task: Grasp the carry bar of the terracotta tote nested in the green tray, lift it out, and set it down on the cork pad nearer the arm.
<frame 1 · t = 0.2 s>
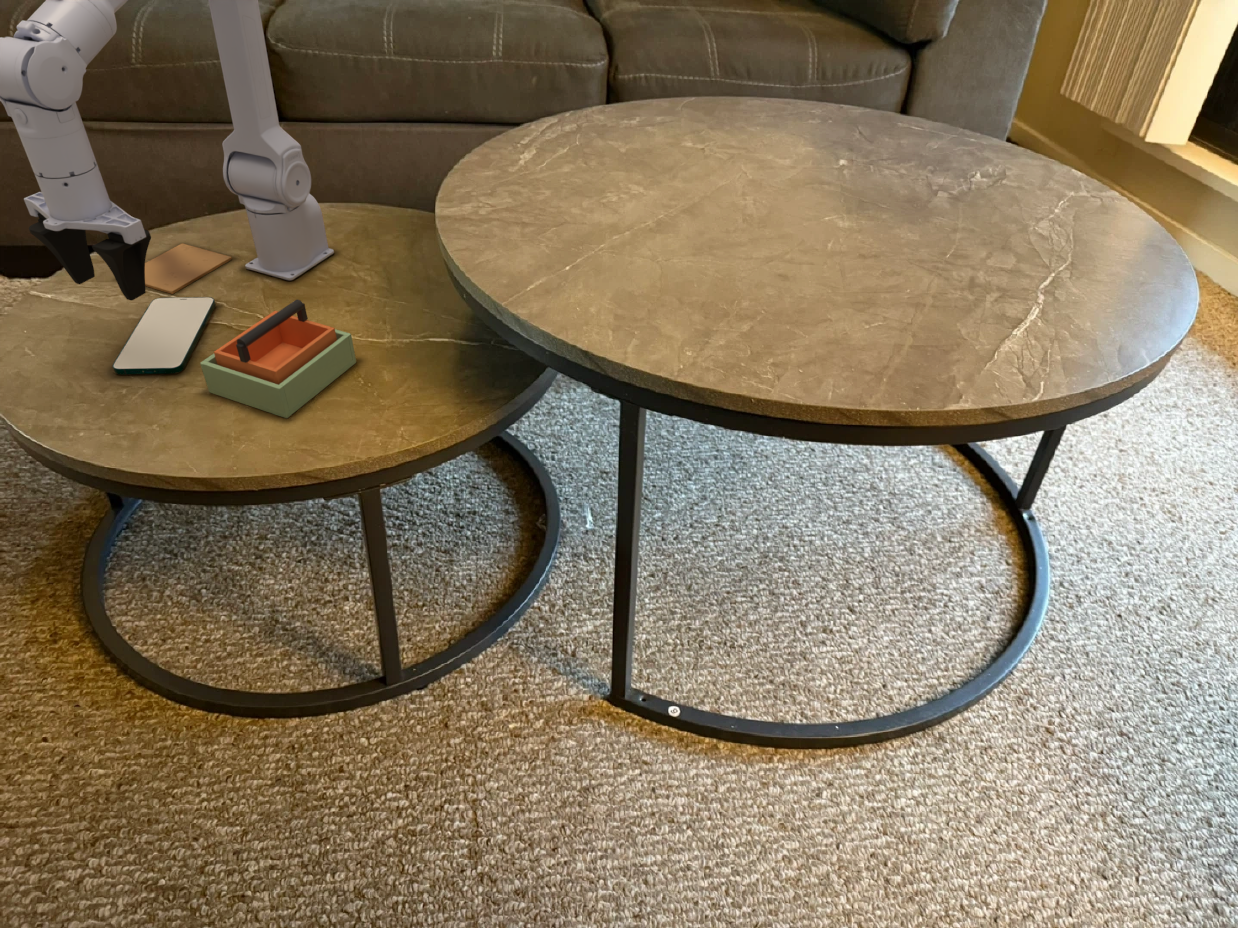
hand: (110, 287, 100), 10 cm above the table, tool pointing down, fingers open, 7 cm apart
green tray: (284, 377, 105), on the table
terracotta tote: (283, 372, 105), point 1 cm above the table, touching green tray
cork pad: (177, 268, 124), on the table
smartphone: (168, 338, 111), on the table
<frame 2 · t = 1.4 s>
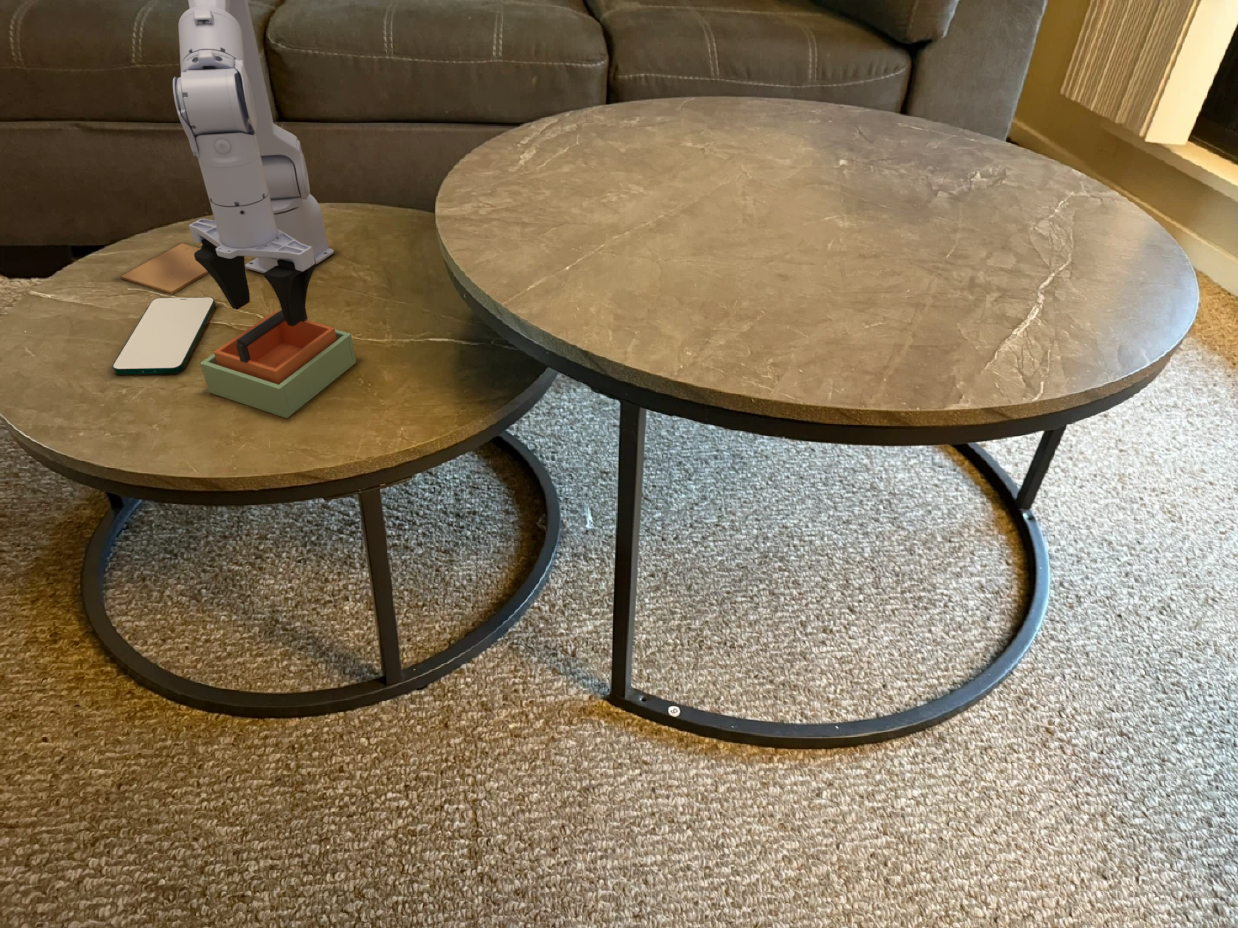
hand: (268, 313, 100), 8 cm above the table, tool pointing down, fingers open, 7 cm apart
nothing on the table moved.
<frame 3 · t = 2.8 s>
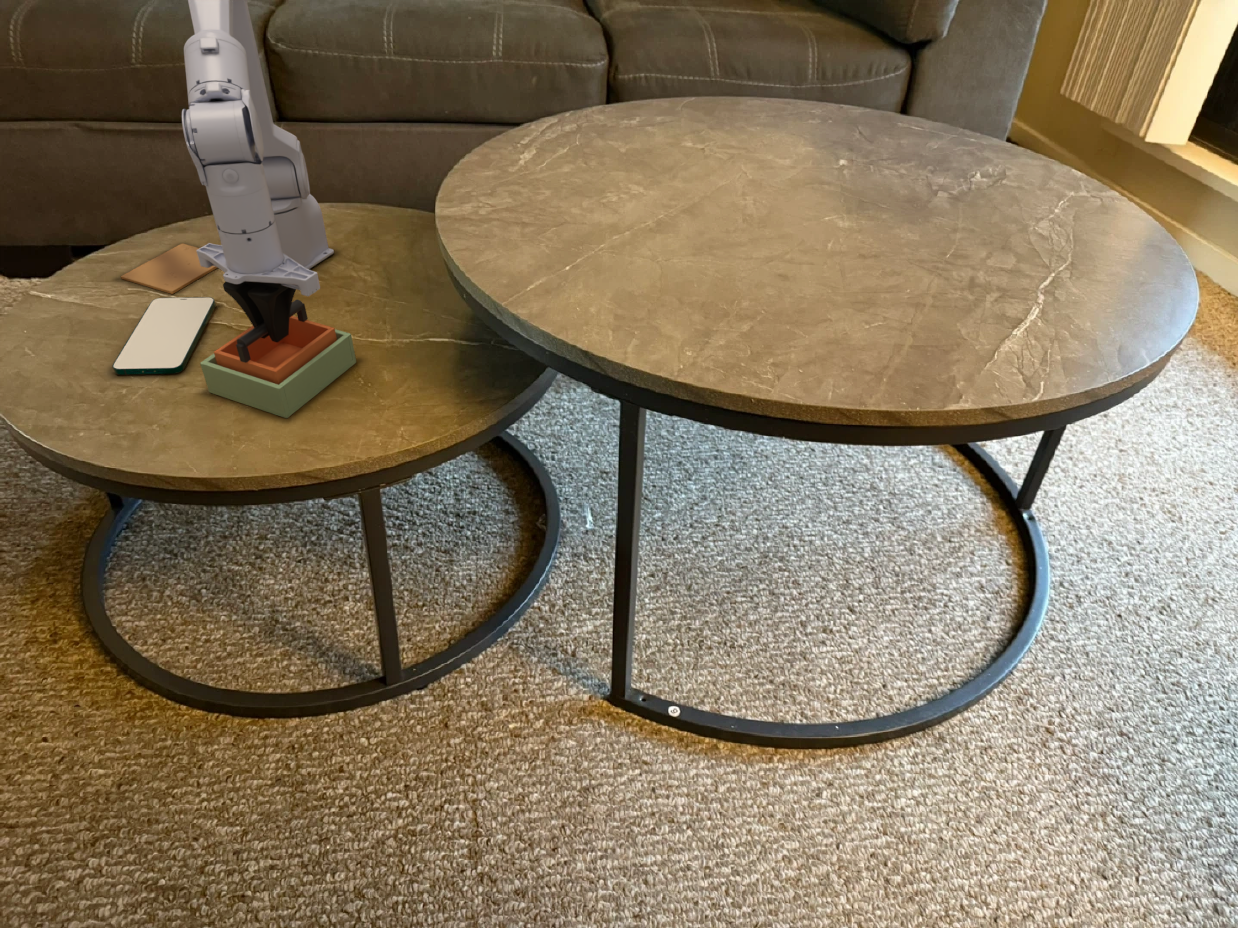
hand: (274, 335, 102), 6 cm above the table, tool pointing down, fingers closed on terracotta tote
terracotta tote: (283, 372, 105), point 1 cm above the table, touching green tray, gripper
everything else where it was.
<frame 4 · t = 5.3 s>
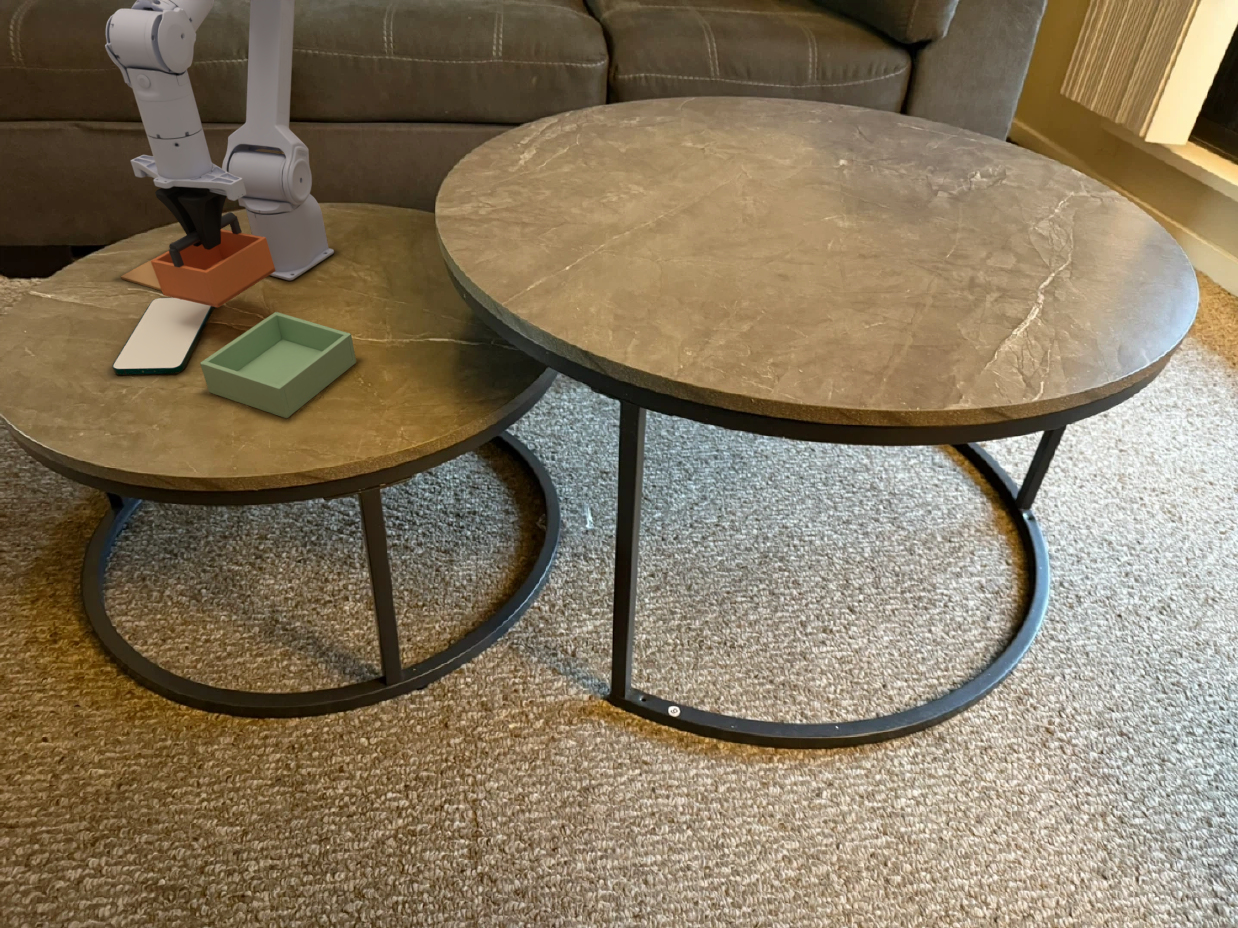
hand: (207, 244, 108), 10 cm above the table, tool pointing down, fingers closed on terracotta tote
terracotta tote: (220, 283, 111), point 5 cm above the table, touching gripper
everything else where it was.
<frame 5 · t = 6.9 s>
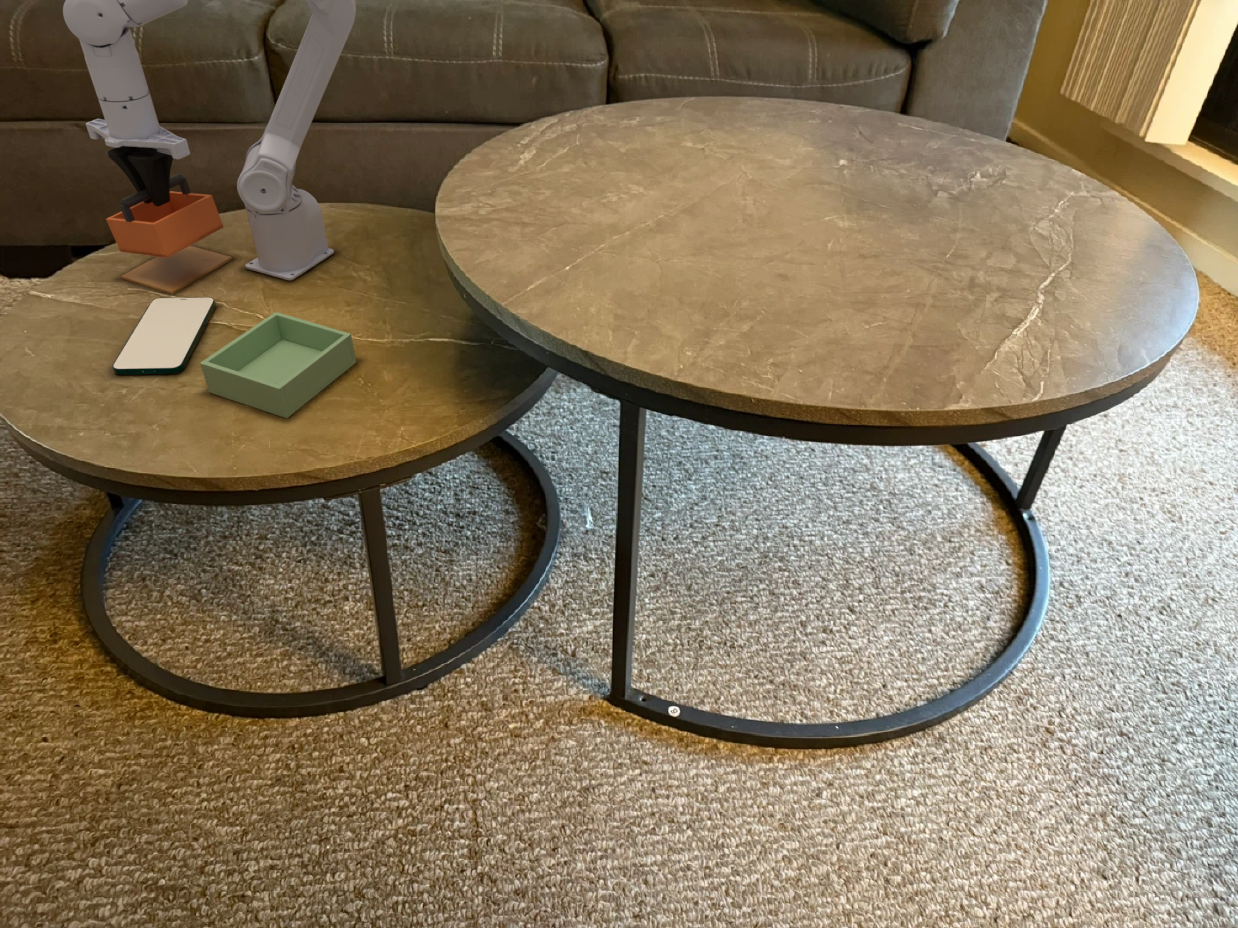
hand: (157, 201, 118), 10 cm above the table, tool pointing down, fingers closed on terracotta tote
terracotta tote: (172, 239, 121), point 5 cm above the table, tilted 7°, touching gripper
everything else where it was.
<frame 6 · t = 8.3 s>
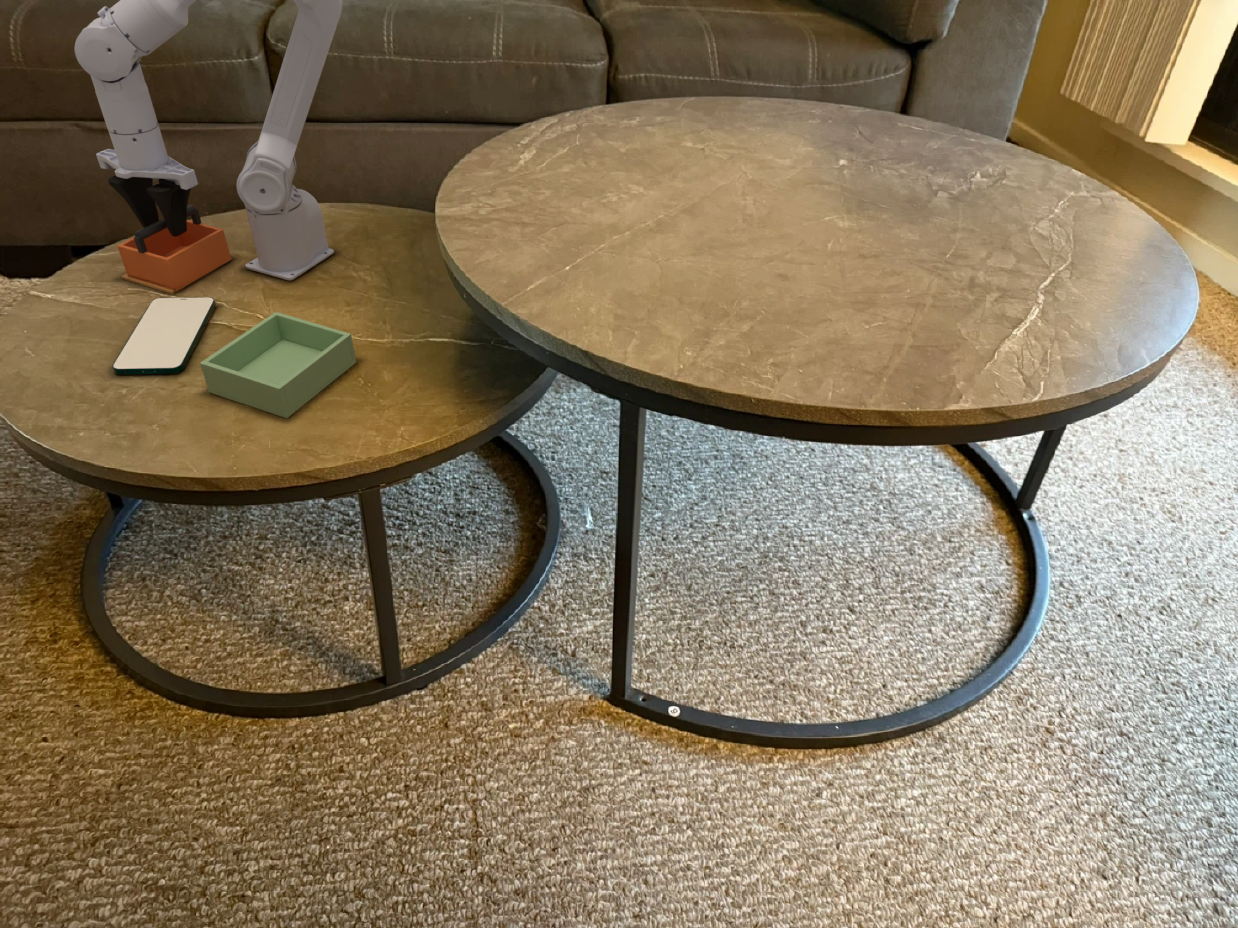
hand: (165, 229, 120), 6 cm above the table, tool pointing down, fingers open, 4 cm apart
terracotta tote: (180, 267, 124), resting on cork pad
everything else where it was.
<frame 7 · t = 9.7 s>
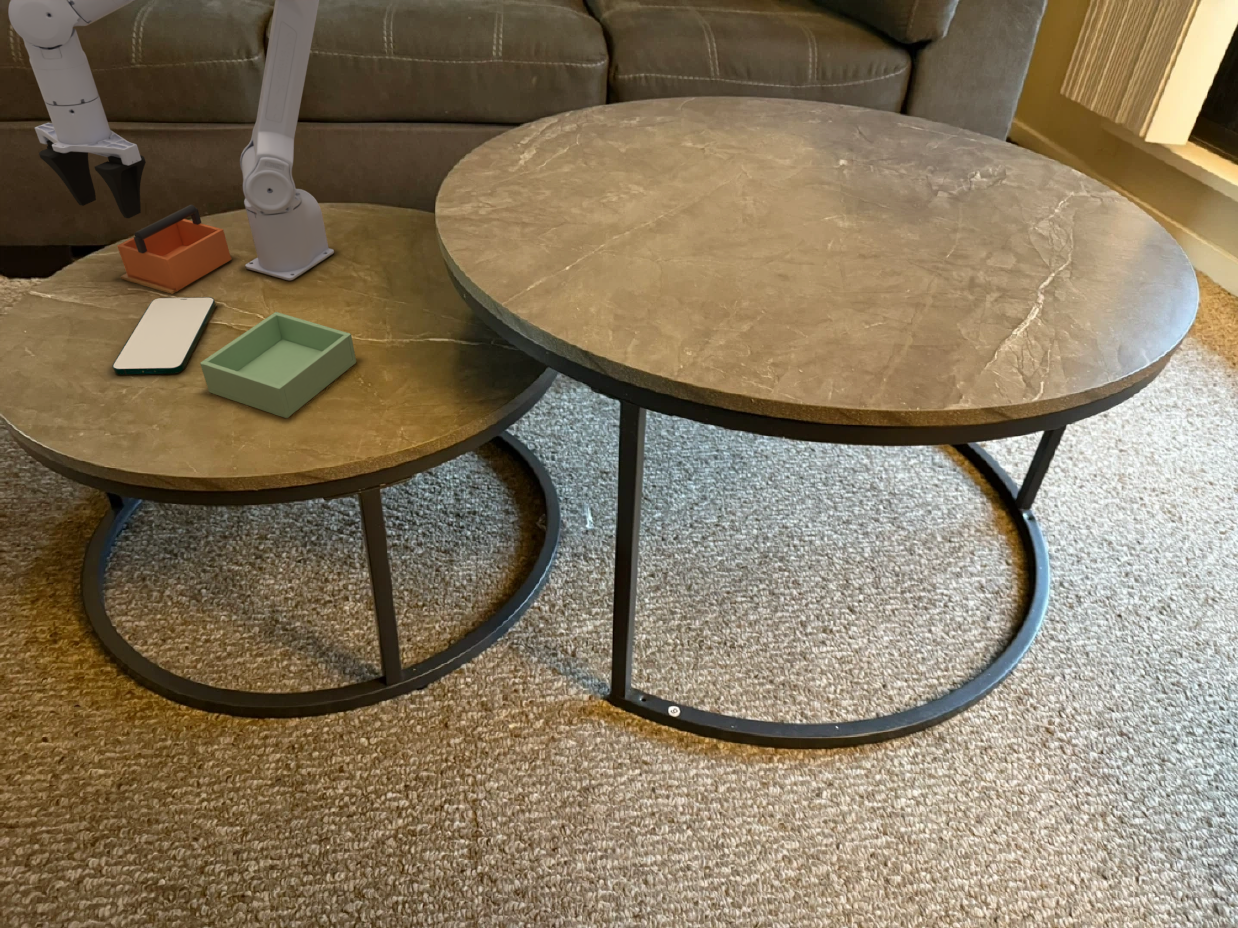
hand: (109, 208, 114), 10 cm above the table, tool pointing down, fingers open, 7 cm apart
nothing on the table moved.
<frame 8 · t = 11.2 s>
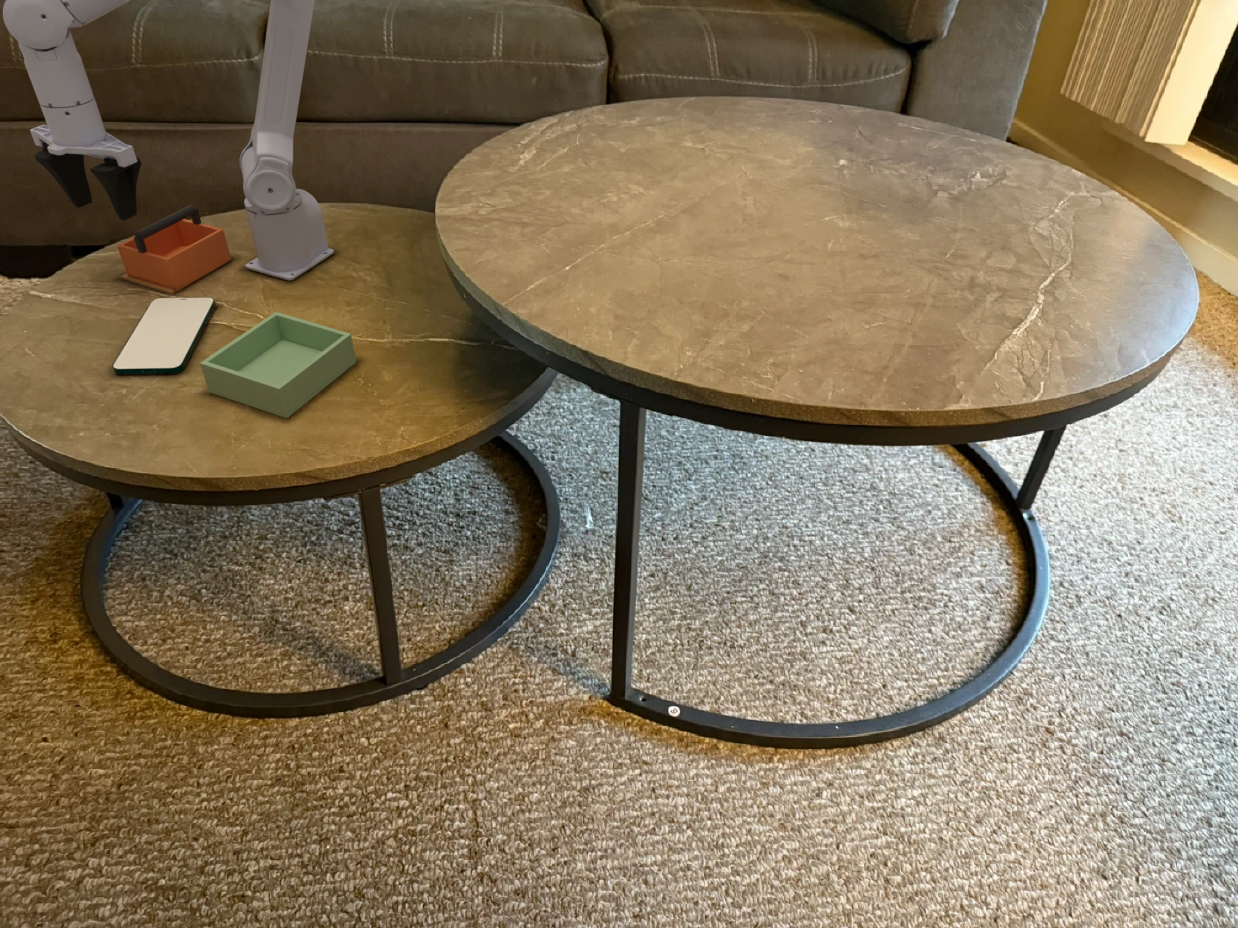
hand: (106, 210, 114), 10 cm above the table, tool pointing down, fingers open, 7 cm apart
nothing on the table moved.
at the end: terracotta tote inside the target area on the cork pad (0.7 cm from its centre), point 0.4 cm above the cork pad's base; terracotta tote tilted 0°; terracotta tote touching cork pad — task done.
